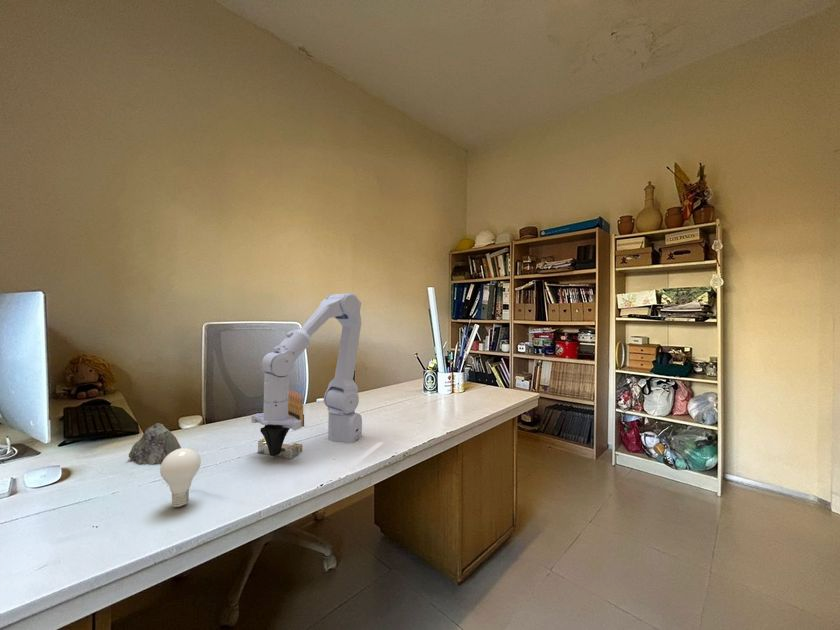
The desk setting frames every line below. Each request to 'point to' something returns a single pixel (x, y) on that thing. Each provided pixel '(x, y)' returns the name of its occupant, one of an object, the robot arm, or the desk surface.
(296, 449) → the swing bar
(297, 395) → the ammunition clip
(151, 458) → the mineral rock
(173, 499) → the lightbulb
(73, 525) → the desk surface
